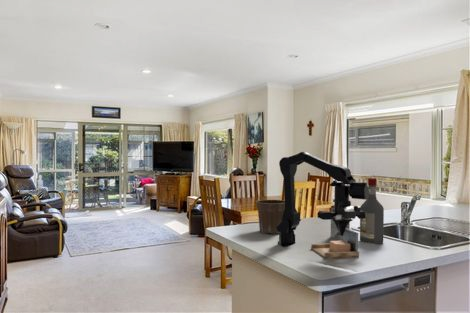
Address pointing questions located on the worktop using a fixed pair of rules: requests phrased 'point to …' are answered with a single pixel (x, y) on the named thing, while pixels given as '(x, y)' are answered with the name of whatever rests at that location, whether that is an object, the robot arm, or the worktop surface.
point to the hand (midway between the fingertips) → (341, 235)
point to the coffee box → (334, 229)
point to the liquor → (372, 217)
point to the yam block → (339, 246)
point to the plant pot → (270, 215)
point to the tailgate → (351, 239)
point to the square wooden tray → (329, 254)
